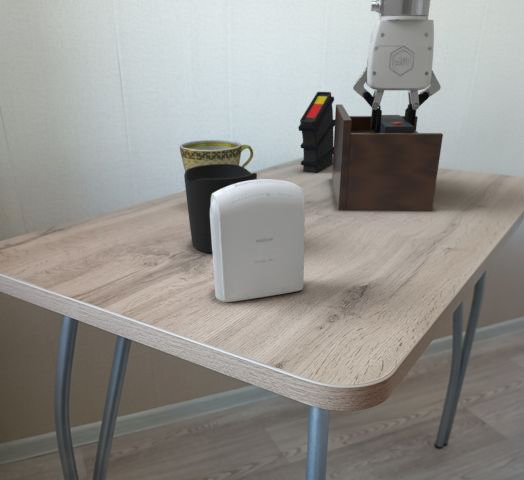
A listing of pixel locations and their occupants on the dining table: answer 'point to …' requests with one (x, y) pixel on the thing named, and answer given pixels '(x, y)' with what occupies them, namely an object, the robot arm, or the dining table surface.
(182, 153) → the ceramic cup
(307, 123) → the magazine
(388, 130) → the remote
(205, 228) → the pen holder
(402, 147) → the wooden storage bin
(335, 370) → the dining table surface
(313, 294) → the dining table surface
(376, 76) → the robot arm
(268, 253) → the photo printer
